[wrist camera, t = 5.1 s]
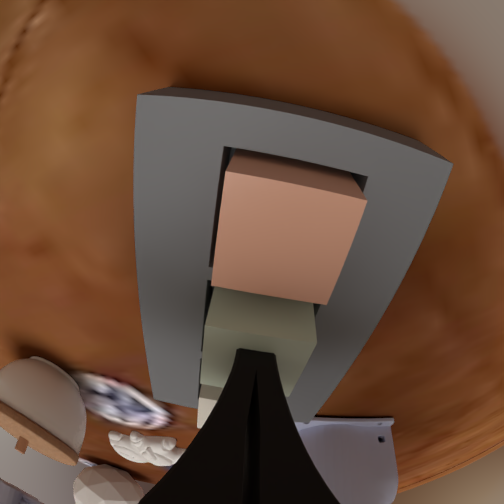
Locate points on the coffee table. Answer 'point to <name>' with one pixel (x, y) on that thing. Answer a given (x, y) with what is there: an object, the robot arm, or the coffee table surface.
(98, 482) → the geometric shape
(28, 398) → the lidded jar
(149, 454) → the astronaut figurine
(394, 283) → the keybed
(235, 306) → the sage key
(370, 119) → the coffee table surface
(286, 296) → the pink block
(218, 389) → the ivory key
